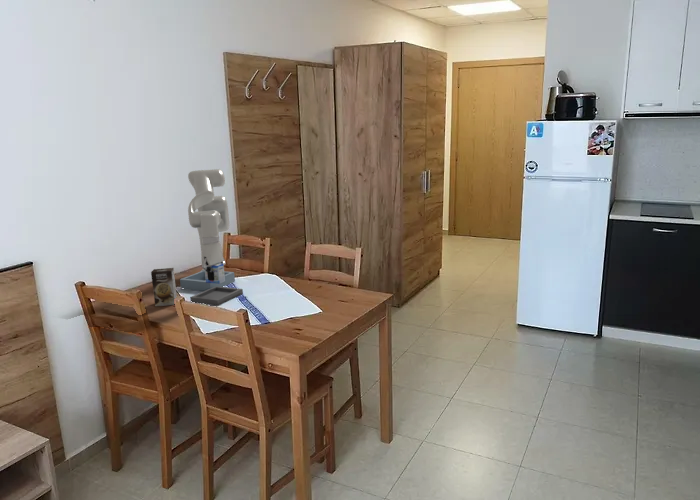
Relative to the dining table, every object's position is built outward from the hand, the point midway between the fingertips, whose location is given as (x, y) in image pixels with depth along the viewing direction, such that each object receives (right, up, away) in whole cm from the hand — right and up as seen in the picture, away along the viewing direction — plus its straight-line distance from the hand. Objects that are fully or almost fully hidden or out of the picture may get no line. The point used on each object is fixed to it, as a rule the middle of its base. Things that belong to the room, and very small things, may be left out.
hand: (215, 278), depth 249 cm
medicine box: (0, -2, +1) cm, 2 cm away
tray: (0, -9, +2) cm, 10 cm away
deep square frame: (-10, -5, +24) cm, 27 cm away
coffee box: (-22, -12, -2) cm, 25 cm away
